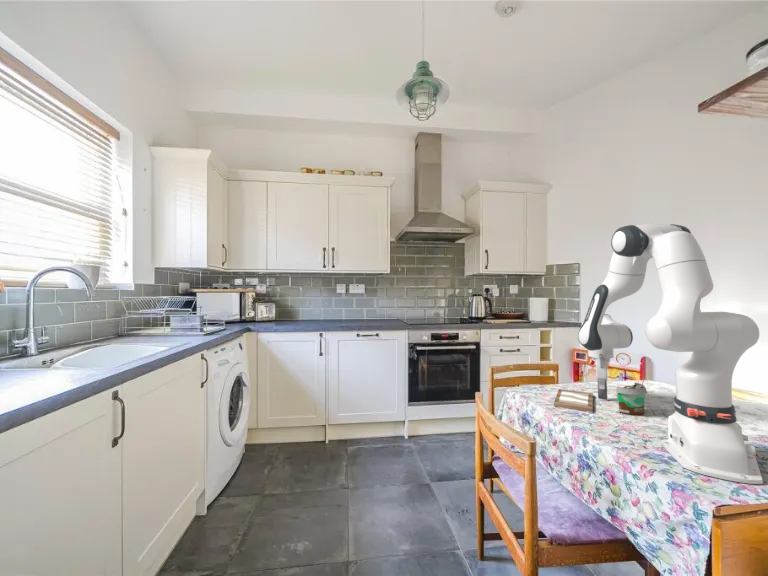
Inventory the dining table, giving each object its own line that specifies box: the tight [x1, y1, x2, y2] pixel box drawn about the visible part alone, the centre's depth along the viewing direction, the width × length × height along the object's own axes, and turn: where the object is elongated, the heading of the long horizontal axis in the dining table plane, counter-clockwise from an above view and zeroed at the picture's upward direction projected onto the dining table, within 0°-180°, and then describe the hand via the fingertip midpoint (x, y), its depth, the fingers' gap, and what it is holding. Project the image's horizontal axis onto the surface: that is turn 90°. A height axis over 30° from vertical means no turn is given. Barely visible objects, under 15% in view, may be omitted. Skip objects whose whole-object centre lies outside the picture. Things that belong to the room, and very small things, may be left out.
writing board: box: [553, 388, 594, 413], centre depth 133 cm, size 22×13×1 cm, turn 147°
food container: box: [615, 382, 648, 417], centre depth 118 cm, size 12×6×10 cm, turn 114°
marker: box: [596, 378, 609, 402], centre depth 133 cm, size 3×3×12 cm
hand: (601, 385), depth 134 cm, fingers open, 8 cm apart
